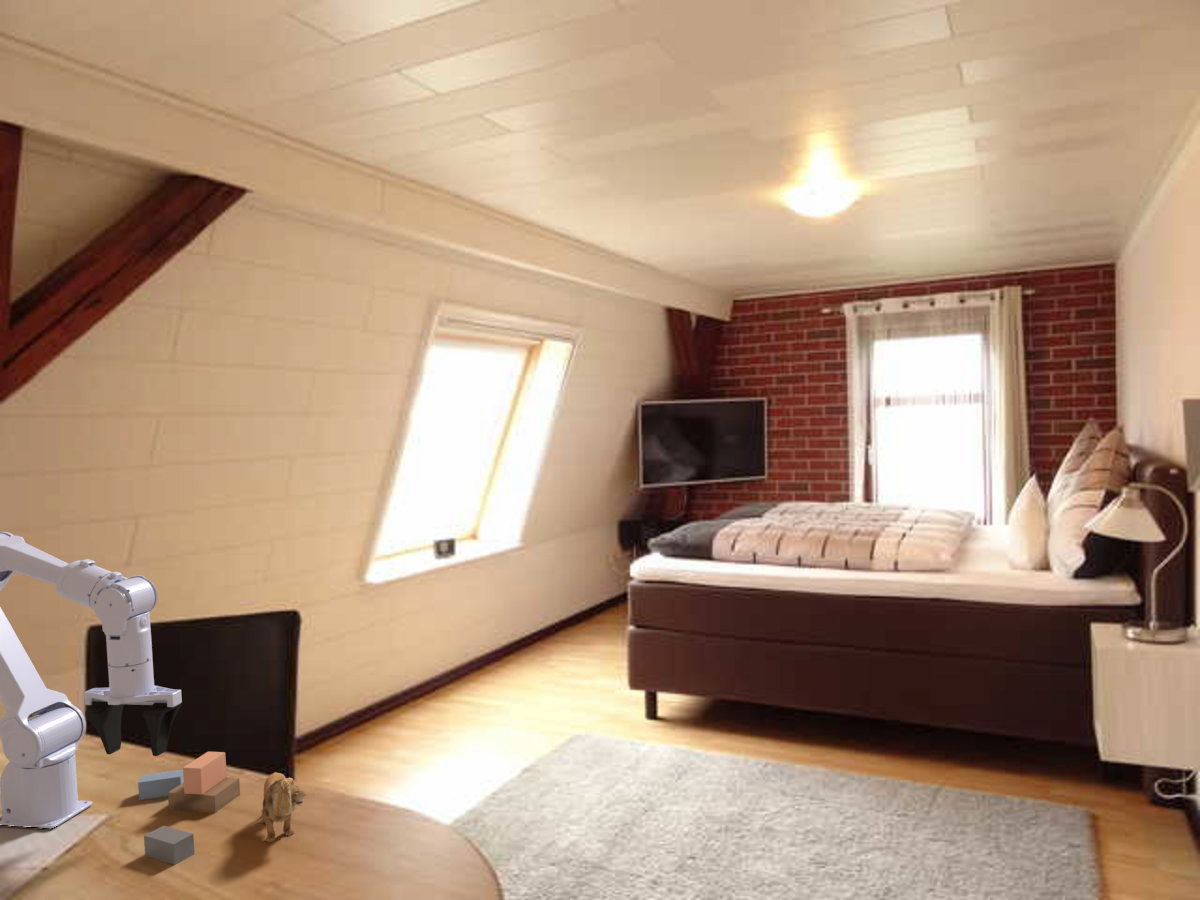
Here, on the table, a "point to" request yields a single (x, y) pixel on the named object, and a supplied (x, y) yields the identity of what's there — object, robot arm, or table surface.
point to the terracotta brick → (204, 773)
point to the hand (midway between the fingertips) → (136, 752)
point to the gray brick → (169, 845)
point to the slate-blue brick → (159, 784)
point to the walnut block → (205, 797)
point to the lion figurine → (280, 803)
